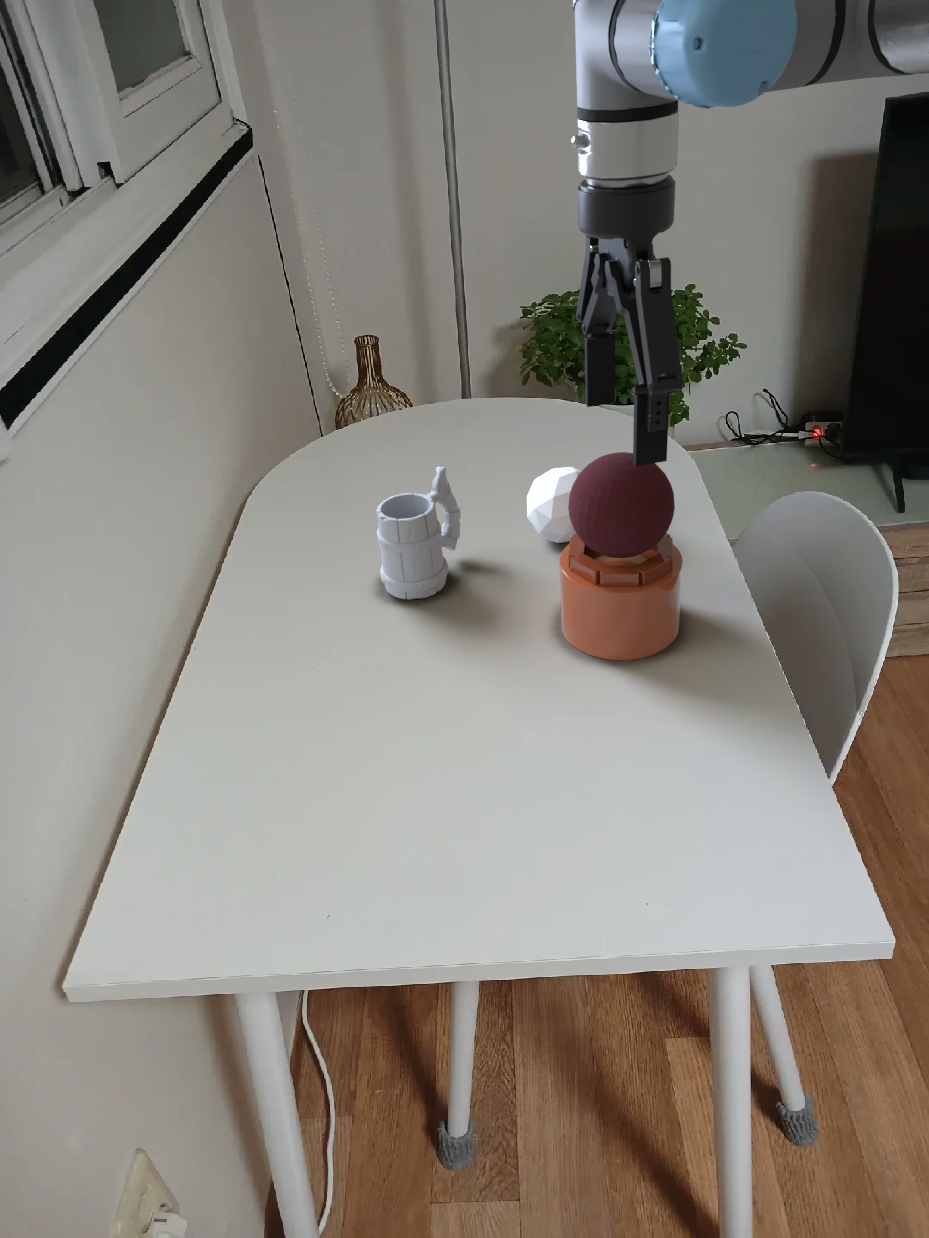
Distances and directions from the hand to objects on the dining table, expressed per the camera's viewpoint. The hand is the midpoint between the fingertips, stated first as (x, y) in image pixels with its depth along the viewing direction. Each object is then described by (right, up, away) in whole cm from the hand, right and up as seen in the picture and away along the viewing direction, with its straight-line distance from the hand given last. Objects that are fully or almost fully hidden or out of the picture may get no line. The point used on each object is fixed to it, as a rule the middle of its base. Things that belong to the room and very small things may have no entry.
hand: (623, 431), depth 86 cm
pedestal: (+2, -18, +13) cm, 22 cm away
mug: (-19, -12, +24) cm, 32 cm away
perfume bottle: (-1, -7, +29) cm, 30 cm away
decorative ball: (+1, -10, +8) cm, 13 cm away
